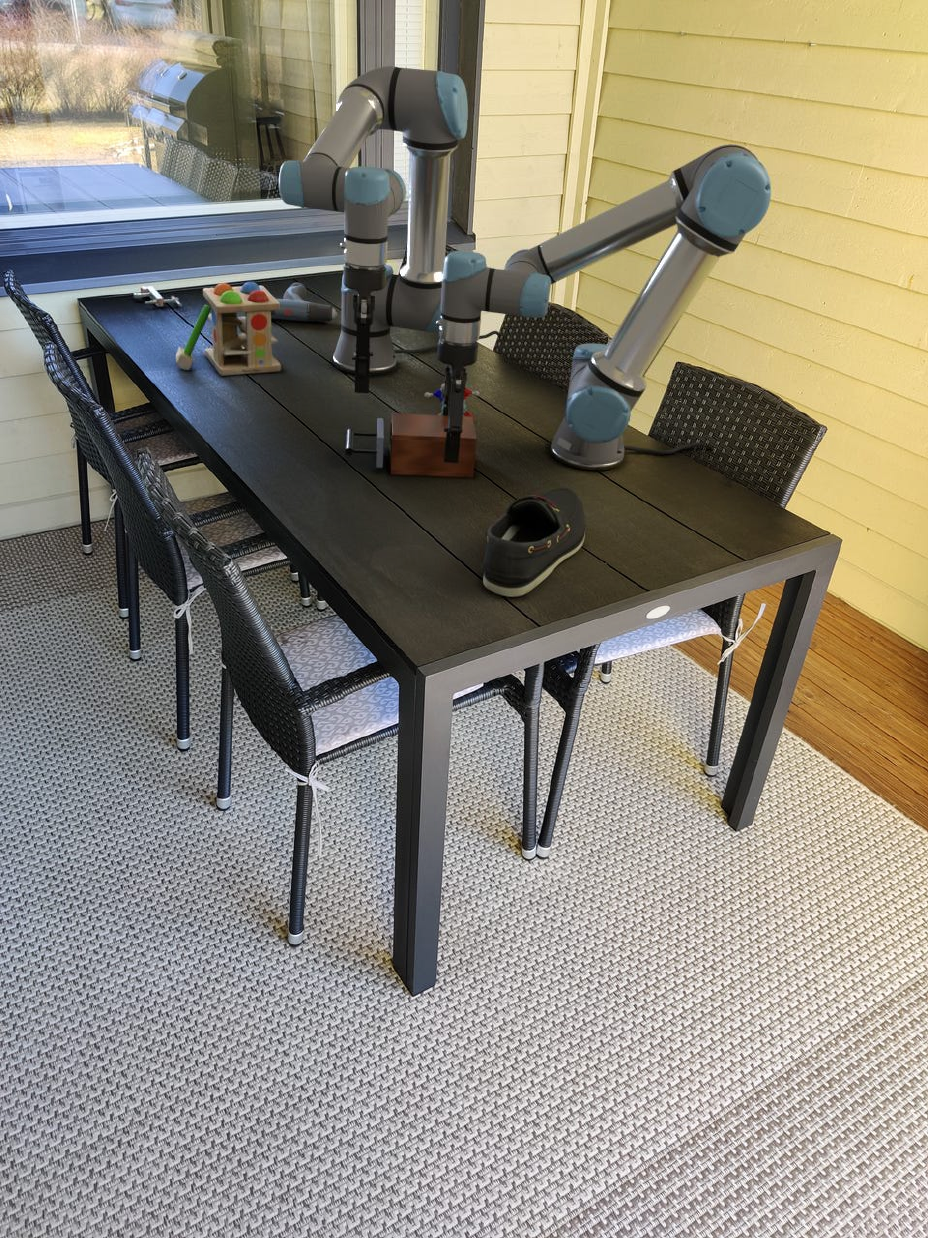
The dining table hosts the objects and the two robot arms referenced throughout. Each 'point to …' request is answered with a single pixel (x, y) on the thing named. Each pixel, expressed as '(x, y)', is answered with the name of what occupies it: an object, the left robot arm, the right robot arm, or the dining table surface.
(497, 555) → the boat shoe
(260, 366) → the pounding bench toy
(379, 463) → the drawer
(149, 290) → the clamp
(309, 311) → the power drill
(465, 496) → the dining table surface
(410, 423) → the cabinet
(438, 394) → the molecular model
